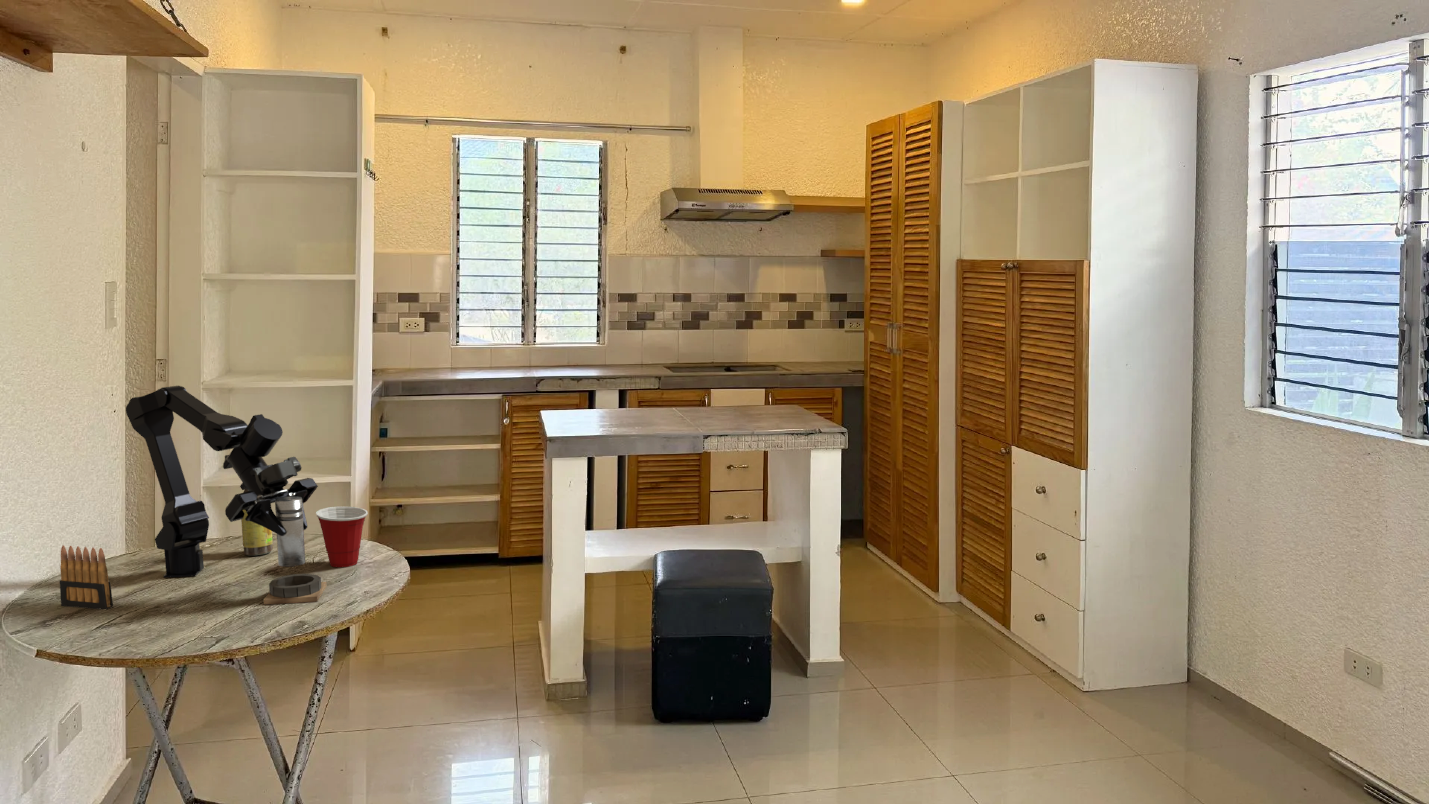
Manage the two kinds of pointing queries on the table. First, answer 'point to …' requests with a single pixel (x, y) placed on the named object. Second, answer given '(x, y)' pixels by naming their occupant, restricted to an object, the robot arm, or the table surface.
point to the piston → (290, 531)
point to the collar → (295, 589)
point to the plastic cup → (342, 533)
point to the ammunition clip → (84, 579)
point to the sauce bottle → (255, 537)
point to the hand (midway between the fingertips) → (295, 531)
